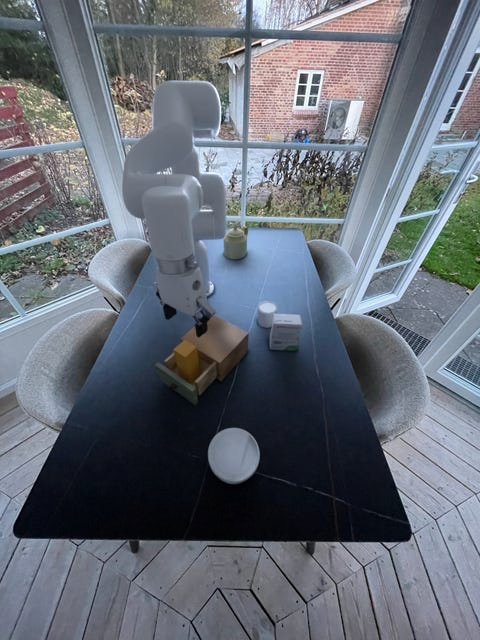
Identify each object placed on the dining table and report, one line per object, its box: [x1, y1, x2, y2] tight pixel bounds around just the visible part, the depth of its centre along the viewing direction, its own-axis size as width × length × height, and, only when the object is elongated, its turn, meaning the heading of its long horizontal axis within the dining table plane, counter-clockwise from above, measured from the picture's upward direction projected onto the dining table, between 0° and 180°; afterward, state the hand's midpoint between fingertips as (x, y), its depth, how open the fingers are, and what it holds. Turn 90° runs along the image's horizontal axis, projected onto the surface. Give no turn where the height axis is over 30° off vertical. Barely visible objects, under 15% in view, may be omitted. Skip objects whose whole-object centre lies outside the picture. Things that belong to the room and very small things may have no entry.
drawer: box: [154, 351, 219, 406], centre depth 74 cm, size 14×14×7 cm
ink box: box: [269, 313, 303, 351], centre depth 83 cm, size 8×5×12 cm, turn 87°
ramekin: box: [207, 427, 261, 485], centre depth 59 cm, size 11×11×5 cm
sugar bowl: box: [223, 223, 249, 260], centre depth 125 cm, size 15×11×15 cm
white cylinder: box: [257, 300, 279, 328], centre depth 92 cm, size 7×7×7 cm
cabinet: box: [179, 314, 250, 382], centre depth 80 cm, size 14×15×9 cm
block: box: [172, 340, 201, 384], centre depth 71 cm, size 4×4×12 cm
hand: (186, 324), depth 62 cm, fingers open, 9 cm apart
